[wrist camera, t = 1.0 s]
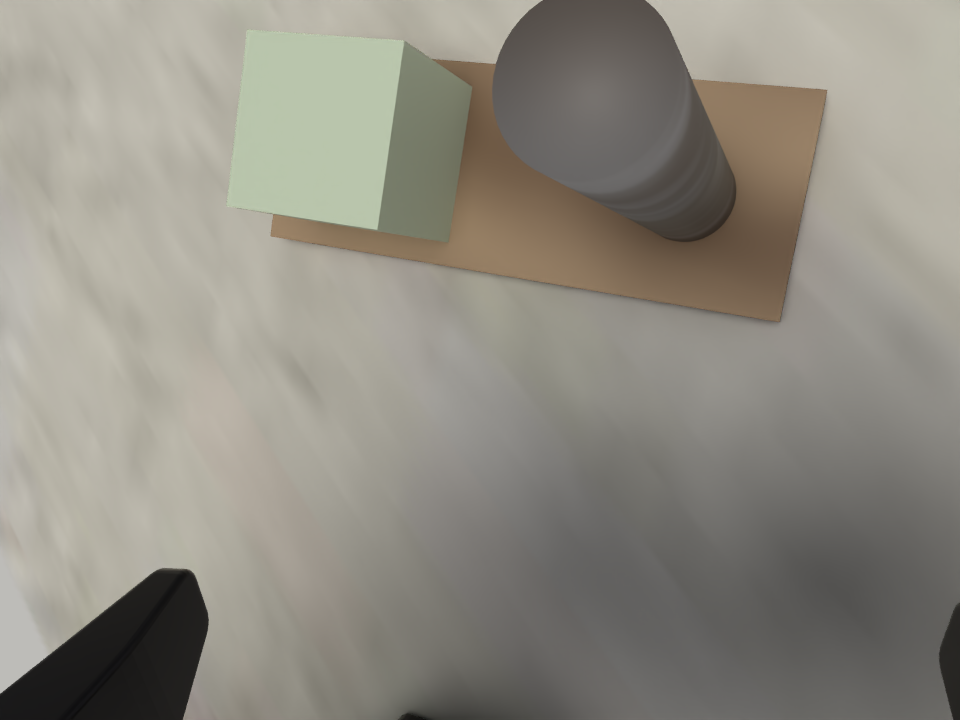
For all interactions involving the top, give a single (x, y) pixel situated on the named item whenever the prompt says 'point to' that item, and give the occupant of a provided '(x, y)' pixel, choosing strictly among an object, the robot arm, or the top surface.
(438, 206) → the sage cube
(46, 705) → the robot arm
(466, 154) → the grey post on base
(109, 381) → the top surface
